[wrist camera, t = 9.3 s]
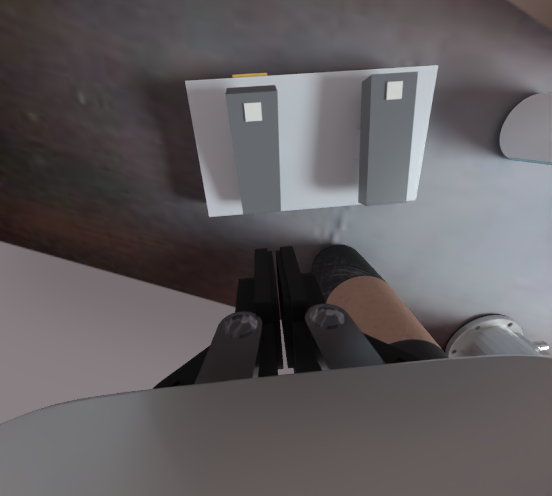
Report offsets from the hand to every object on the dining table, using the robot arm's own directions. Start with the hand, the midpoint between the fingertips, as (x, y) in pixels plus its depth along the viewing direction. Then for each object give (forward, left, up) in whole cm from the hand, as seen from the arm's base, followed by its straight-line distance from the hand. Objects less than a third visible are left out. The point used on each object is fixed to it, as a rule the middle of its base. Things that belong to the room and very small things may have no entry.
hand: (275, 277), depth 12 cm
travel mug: (-9, +12, -21) cm, 26 cm away
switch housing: (-5, -4, -21) cm, 22 cm away
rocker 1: (0, -4, -14) cm, 14 cm away
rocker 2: (-11, -4, -14) cm, 18 cm away
